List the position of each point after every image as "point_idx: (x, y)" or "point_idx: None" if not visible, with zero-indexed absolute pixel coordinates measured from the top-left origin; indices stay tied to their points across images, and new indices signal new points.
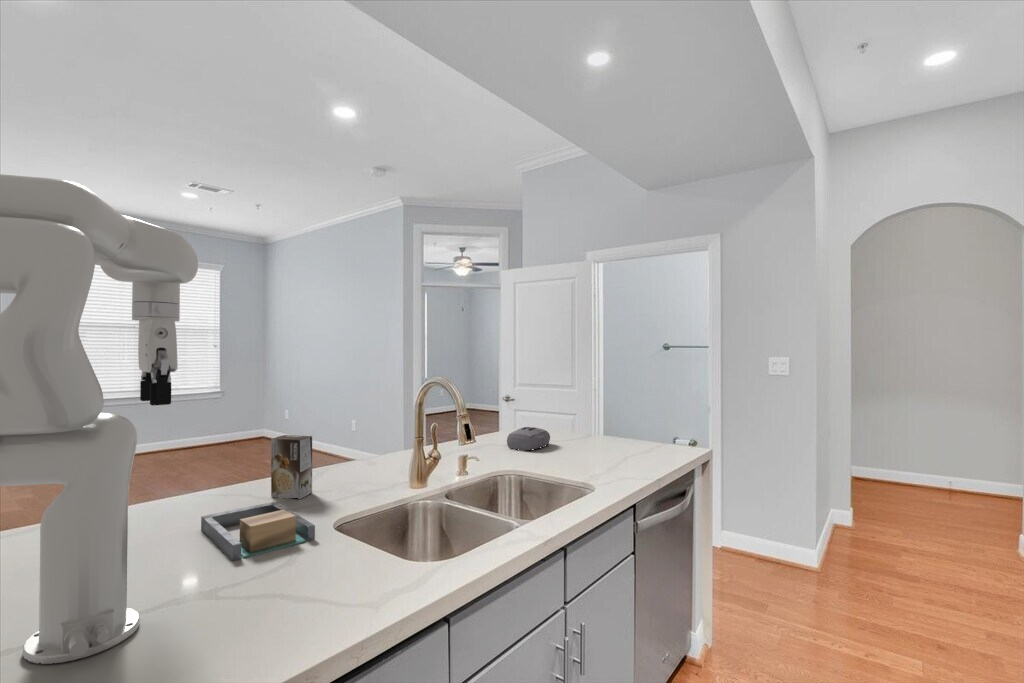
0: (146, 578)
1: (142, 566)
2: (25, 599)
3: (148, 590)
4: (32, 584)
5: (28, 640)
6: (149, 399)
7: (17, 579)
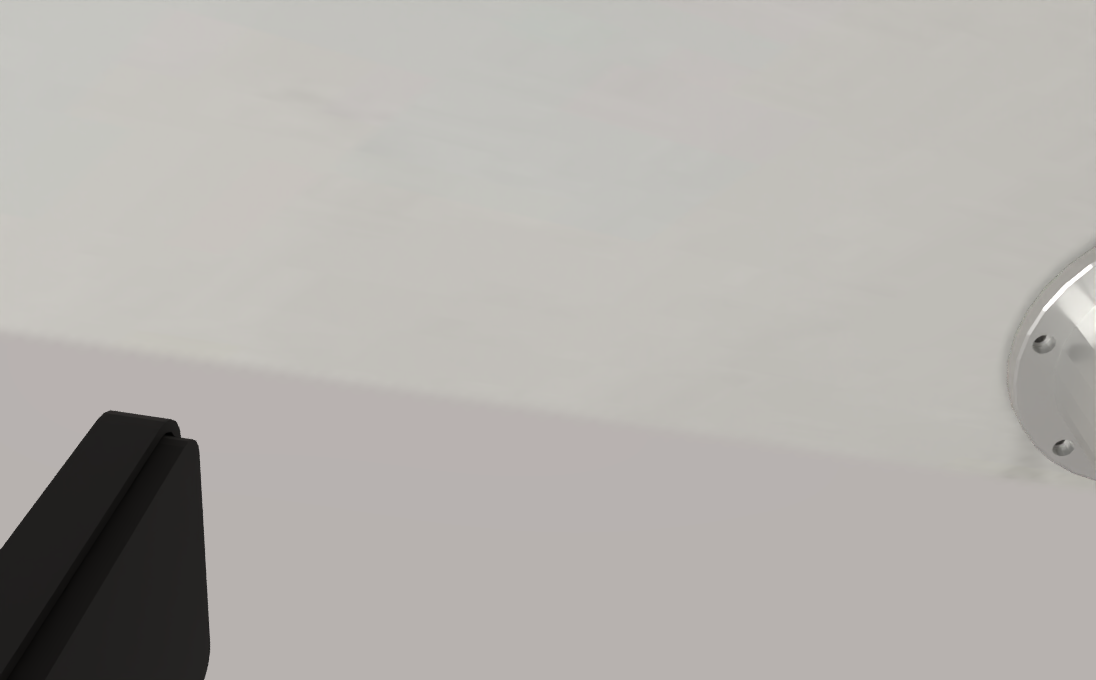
0: (837, 51)
1: (661, 12)
2: (638, 387)
3: (985, 91)
4: (498, 347)
5: (1078, 469)
6: (205, 584)
7: (395, 367)
